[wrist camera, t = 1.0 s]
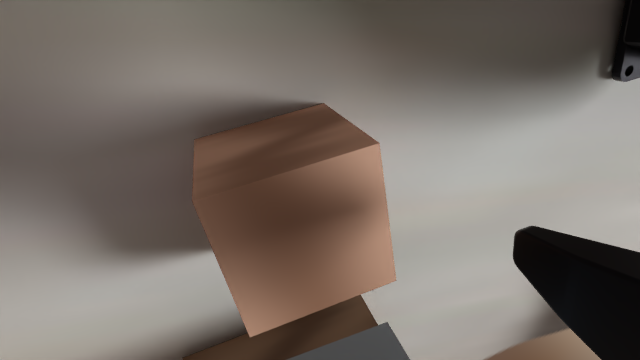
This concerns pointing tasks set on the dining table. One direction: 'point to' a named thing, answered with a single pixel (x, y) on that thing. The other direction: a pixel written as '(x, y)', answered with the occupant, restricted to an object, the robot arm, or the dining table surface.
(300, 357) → the tower top slab
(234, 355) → the tower base slab
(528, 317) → the dining table surface
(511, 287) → the dining table surface
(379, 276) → the terracotta cube
